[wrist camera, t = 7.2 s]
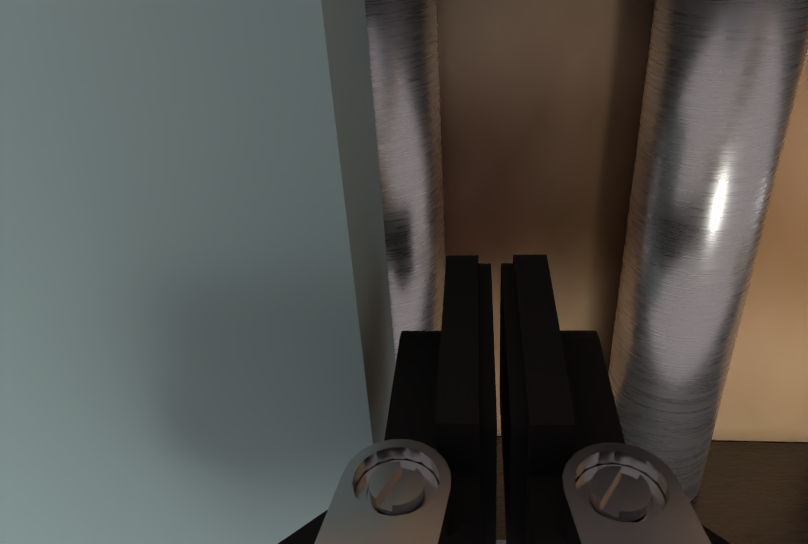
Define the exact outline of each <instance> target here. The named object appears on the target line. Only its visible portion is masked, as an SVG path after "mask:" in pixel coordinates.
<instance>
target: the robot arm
mask: <svg viewBox="0 0 808 544" xmlns="http://www.w3.org/2000/svg"><path fill="white" fill-rule="evenodd" d="M500 414H501V436H502V459H503V481H504V504H505V526H506V544H731V543H729V542H727V541H726V540H724V539H723V538H721V537H720V536H718V535H717V534H715V533H714V532H712V531H711V530H709V529H708V528H706V527H705V526H703V525H702V524H701V523H700V521H699V519H698V517H697V515H696V513H695V511H694V509H693V507H692V505H691V503H690V501H689V499H688V498H687V496H686V494H685V492H684V490H683V488H682V486H681V484H680V482H679V480H678V478H677V477H676V476H675V474H674V473H673V472H672V470H671V469H670V467H669V466H668V465H667V464H665V463H664V462H663V461H662V460H660V459H659V458H658V457H657V456H655V455H654V454H652V453H650V452H647V451H645V450H643V449H641V448H639V447H636V446H632V445H628V444H625V440H624V436H623V432H622V428H621V424H620V420H619V416H618V412H617V408H616V404H615V400H614V396H613V392H612V388H611V384H610V380H609V376H608V372H607V368H606V364H605V360H604V356H603V352H602V348H601V344H600V340H599V337H598V334H597V332H596V331H560V329H559V323H558V317H557V312H556V306H555V300H554V294H553V289H552V283H551V277H550V271H549V266H548V260H547V255H546V254H544V255H514V256H513V263H501V300H500ZM496 500H497V413H496V385H495V359H494V332H493V305H492V279H491V264H478V255H467V256H446V268H445V283H444V297H443V311H442V326H441V331H402V332H401V334H400V339H399V346H398V352H397V359H396V365H395V372H394V378H393V385H392V392H391V398H390V405H389V411H388V418H387V424H386V431H385V438H384V441H381V442H377V443H375V444H373V445H370V446H368V447H366V448H364V449H362V450H361V451H360V452H359V453H358V454H357V455H355V456H354V457H353V458H352V459H351V460H350V462H349V463H348V465H347V466H346V468H345V470H344V471H343V473H342V476H341V478H340V481H339V483H338V486H337V488H336V491H335V493H334V496H333V498H332V501H331V503H330V506H329V508H328V510H326V511H325V512H323V513H322V514H320V515H319V516H317V517H316V518H314V519H313V520H312V521H310V522H309V523H307V524H306V525H304V526H303V527H301V528H300V529H298V530H297V531H295V532H294V533H293V534H291V535H290V536H288V537H287V538H285V539H284V540H282V541H281V542H279V543H278V544H496Z"/></svg>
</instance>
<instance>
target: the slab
mask: <svg viewBox="0 0 808 544" xmlns="http://www.w3.org/2000/svg"><path fill="white" fill-rule="evenodd" d="M395 365H396V361H395V350H394V338H393V326H392V315H391V303H390V291H389V280H388V268H387V256H386V244H385V233H384V221H383V209H382V198H381V186H380V174H379V163H378V151H377V139H376V128H375V116H374V104H373V93H372V81H371V69H370V57H369V46H368V34H367V22H366V11H365V0H0V544H278V543H279V542H281V541H282V540H284V539H285V538H287V537H288V536H290V535H291V534H293V533H294V532H295V531H297V530H298V529H300V528H301V527H303V526H304V525H306V524H307V523H309V522H310V521H312V520H313V519H314V518H316V517H317V516H319V515H320V514H322V513H323V512H325V511H326V510H328V508H329V506H330V503H331V501H332V498H333V496H334V493H335V491H336V488H337V486H338V483H339V481H340V478H341V476H342V473H343V471H344V470H345V468H346V466H347V465H348V463H349V462H350V460H351V459H352V458H353V457H354V456H355V455H357V454H358V453H359V452H360V451H361V450H362V449H364V448H366V447H368V446H370V445H373V444H375V443H377V442H381V441H384V438H385V431H386V424H387V418H388V411H389V405H390V398H391V392H392V385H393V378H394V372H395Z"/></svg>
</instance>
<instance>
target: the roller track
mask: <svg viewBox="0 0 808 544" xmlns="http://www.w3.org/2000/svg"><path fill="white" fill-rule="evenodd" d="M365 11H366V22H367V34H368V46H369V57H370V69H371V81H372V93H373V104H374V116H375V128H376V139H377V151H378V163H379V174H380V186H381V198H382V209H383V221H384V233H385V244H386V256H387V268H388V280H389V291H390V303H391V315H392V326H393V338H394V350H395V361H396V359H397V352H398V346H399V339H400V334H401V332H402V331H441V326H442V311H443V297H444V283H445V240H444V210H443V180H442V150H441V120H440V90H439V60H438V29H437V0H365ZM807 48H808V0H655V7H654V15H653V23H652V31H651V39H650V47H649V55H648V63H647V71H646V79H645V87H644V95H643V102H642V110H641V118H640V126H639V134H638V142H637V150H636V158H635V166H634V174H633V182H632V190H631V198H630V206H629V214H628V222H627V229H626V237H625V245H624V253H623V261H622V269H621V277H620V285H619V293H618V301H617V309H616V317H615V325H614V333H613V341H612V349H611V356H610V364H609V372H608V376H609V380H610V384H611V388H612V392H613V396H614V400H615V404H616V408H617V412H618V416H619V420H620V424H621V428H622V432H623V436H624V440H625V444H628V445H632V446H636V447H639V448H641V449H643V450H645V451H647V452H650V453H652V454H654V455H655V456H657V457H658V458H659V459H660V460H662V461H663V462H664V463H665V464H667V465H668V466H669V467H670V469H671V470H672V472H673V473H674V474H675V476H676V477H677V478H678V480H679V482H680V484H681V486H682V488H683V490H684V492H685V494H686V496H687V498H688V499H689V501H690V503H691V505H692V507H693V509H694V511H695V513H696V515H697V517H698V519H699V521H700V523H701V524H702V525H703V526H705V527H706V528H708V529H709V530H711V531H712V532H714V533H715V534H717V535H718V536H720V537H721V538H723V539H724V540H726V541H727V542H729V543H731V544H808V443H762V442H714V441H711V439H712V435H713V431H714V427H715V423H716V419H717V415H718V411H719V407H720V403H721V398H722V394H723V390H724V386H725V382H726V378H727V374H728V370H729V366H730V362H731V358H732V354H733V350H734V345H735V341H736V337H737V333H738V329H739V325H740V321H741V317H742V313H743V309H744V305H745V301H746V296H747V292H748V288H749V284H750V280H751V276H752V272H753V268H754V264H755V260H756V256H757V252H758V247H759V243H760V239H761V235H762V231H763V227H764V223H765V219H766V215H767V211H768V207H769V203H770V199H771V194H772V190H773V186H774V182H775V178H776V174H777V170H778V166H779V162H780V158H781V154H782V150H783V145H784V141H785V137H786V133H787V129H788V125H789V121H790V117H791V113H792V109H793V105H794V101H795V97H796V92H797V88H798V84H799V80H800V76H801V72H802V68H803V64H804V60H805V56H806V52H807ZM496 544H506V526H505V504H504V481H503V459H502V437H497V500H496Z"/></svg>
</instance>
